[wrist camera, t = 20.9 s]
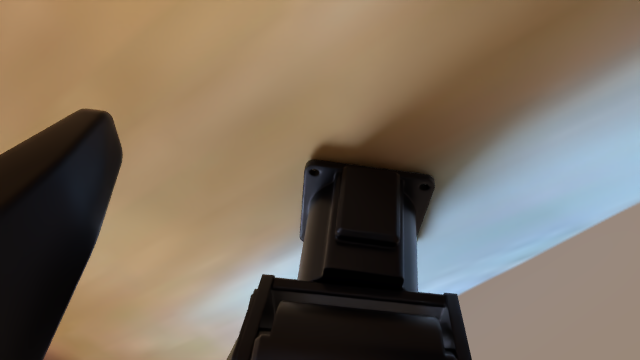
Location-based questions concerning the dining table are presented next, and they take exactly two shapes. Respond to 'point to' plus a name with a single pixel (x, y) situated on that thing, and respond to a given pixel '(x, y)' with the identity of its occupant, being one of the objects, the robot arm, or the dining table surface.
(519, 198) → the dining table surface
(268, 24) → the dining table surface
